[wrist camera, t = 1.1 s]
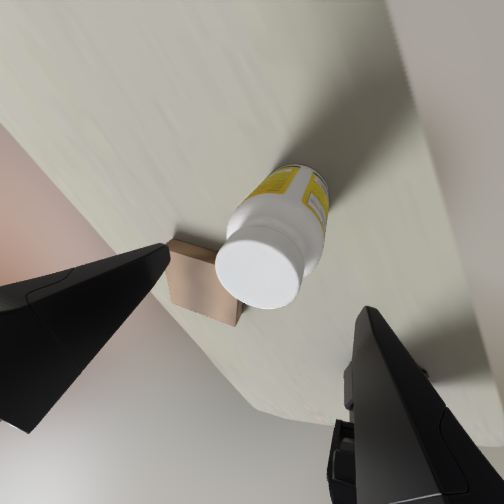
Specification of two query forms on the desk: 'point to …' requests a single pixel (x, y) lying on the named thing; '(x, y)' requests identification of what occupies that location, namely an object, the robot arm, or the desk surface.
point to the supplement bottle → (275, 238)
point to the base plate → (199, 283)
